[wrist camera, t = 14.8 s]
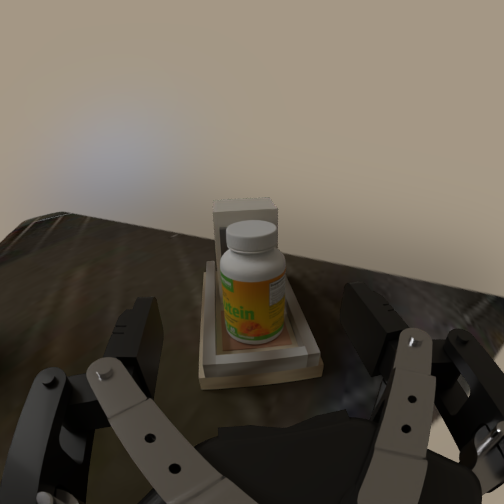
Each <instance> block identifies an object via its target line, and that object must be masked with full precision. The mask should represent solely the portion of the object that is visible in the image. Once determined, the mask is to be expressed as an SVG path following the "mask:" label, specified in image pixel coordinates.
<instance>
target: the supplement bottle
mask: <svg viewBox="0 0 504 504" xmlns="http://www.w3.org/2000/svg"><path fill="white" fill-rule="evenodd" d="M277 241H278V239H277V227H276V225H274V224H273V223H270V222H267V221H261V220H247V221H240V222H236V223H233V224H231V225H229V226H228V227H227V229H226V242H227V247H228V248H229V250H227V251H226V252H225V253H224V254H223V256H222V257H221V260H220V273H221V283H222V294H223V304H224V314H225V324H226V330H227V332H228V334H229V335H230V336H231V337H232V338H233V339H235V340H237V341H239V342H241V343H245V344H263V343H267V342H270V341H272V340H274V339H275V338H276V337H278V336H279V335H280V333H281V332H282V330H283V326H284V312H285V274H286V262H285V257H284V255H283V253H282V252H281V251H280V250H279V249H277V248H275V247H276V245H277Z"/></svg>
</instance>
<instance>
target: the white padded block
mask: <svg viewBox="0 0 504 504" xmlns="http://www.w3.org/2000/svg"><path fill="white" fill-rule="evenodd" d="M247 220H261V221H267V222H270V223H273V224H274V225H276V227H277V239H278V208H277V207H276V206H275V204H274V203H273V202H272V200H271V199H270V198H269V197H265V198H245V199H228V200H214V201H213V221H214V235H215V247H216V260H217V271H218V282H219V293H220V303H221V304H223V294H222V283H221V273H220V260H221V257H222V256H223V254H224V253H225V252H226V251H227V250H229V248H228V247H227V242H226V229H227V227H228V226H229V225H231V224H233V223H236V222H240V221H247ZM277 246H278V241H277V245H276V247H275V248H277V249H278V247H277Z"/></svg>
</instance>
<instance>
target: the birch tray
mask: <svg viewBox="0 0 504 504" xmlns="http://www.w3.org/2000/svg"><path fill="white" fill-rule="evenodd" d="M323 367H324V363H323V361H322V359H321V356H320V350H319V348H318V346H317V344H316V341H315V339H314V337H313V335H312V332H311V330H310V328H309V326H308V323H307V321H306V319H305V317H304V314H303V312H302V310H301V308H300V305H299V303H298V301H297V299H296V297H295V294H294V292H293V290H292V288H291V286H290V283H289V281H288V279H287V277H286V275H285V312H284V326H283V330H282V332H281V333H280V335H279V336H278V337H276V338H275V339H274V340H272V341H270V342H267V343H263V344H245V343H241V342H239V341H237V340H235V339H233V338H232V337H231V336H230V335H229V334H228V332H227V330H226V324H225V314H224V304H221V303H220V293H219V282H218V271H215V261H207V266H206V272H204V280H203V295H202V312H201V331H200V355H199V381H200V386H201V390H207V389H224V388H238V387H249V386H259V385H268V384H276V383H284V382H291V381H297V380H304V379H310V378H316V377H322V372H323Z"/></svg>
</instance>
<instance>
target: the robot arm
mask: <svg viewBox="0 0 504 504" xmlns="http://www.w3.org/2000/svg"><path fill="white" fill-rule="evenodd" d="M340 322H341V325H342V327H343V329H344V330H345V332H346V334H347V336H348V337H349V339H350V341H351V342H352V344H353V346H354V348H355V349H356V351H357V353H358V355H359V356H360V358H361V360H362V362H363V364H364V365H365V367H366V369H367V371H368V372H369V374H370V376H371V377H374V376H378V375H382V377H383V379H382V382H381V384H380V388H379V391H378V395H377V398H376V401H375V404H374V408H373V411H372V414H371V417H370V419H369V420H367V419H362V418H354V417H349V416H348V414H347V411H346V409H345V410H340V411H336V412H332V413H327V414H322V415H317V416H315V417H312V418H310V419H308V420H305V421H303V422H300V423H298V424H295V425H293V426H290V427H287V428H276V427H264V426H253V425H248V426H236V427H221V428H218V436H217V437H214V438H211V439H208V440H206V441H204V442H202V443H200V444H198V445H196V446H195V447H193V446H192V445H191V444H190V443H189V442H188V441H187V440H186V439H185V438H184V437H183V436H182V434H181V433H180V432H179V431H178V430H177V429H176V428H175V426H174V425H173V424H172V423H171V422H170V421H169V420H168V418H167V417H166V416H165V415H164V414H163V412H162V411H161V410H160V409H159V407H158V406H157V405H156V404H155V402H154V394H155V387H156V380H157V374H158V368H159V362H160V356H161V350H162V345H163V326H162V322H161V318H160V313H159V309H158V304H157V300H156V298H155V297H138V298H137V299H136V302H135V304H134V307H133V309H130V310H125V311H124V312H123V313H122V314H121V315H120V316H119V318H118V320H117V323H116V325H115V327H114V330H113V334H112V335H111V338H110V340H109V343H108V345H107V348H106V351H105V353H104V356H103V358H101V359H98V360H96V361H95V362H93V363H92V364H91V365H90V366H89V368H88V369H87V373H84V374H80V375H74V376H69V377H67V376H66V374H65V373H64V371H63V370H62V369H60V368H57V367H50V368H46V369H44V370H42V371H41V372H40V373H39V374H38V375H37V376H36V378H35V380H34V382H33V384H32V387H31V389H30V392H29V394H28V397H27V399H26V402H25V404H24V407H23V410H22V413H21V415H20V418H19V421H18V424H17V427H16V430H15V433H14V436H13V439H12V443H11V446H10V449H9V453H8V457H7V460H6V464H5V468H4V472H3V477H2V481H1V486H0V504H86V493H87V483H88V474H89V466H90V458H91V451H92V445H93V439H94V433H95V429H99V428H104V427H110V426H112V428H113V430H114V431H115V433H116V435H117V436H118V438H119V439H120V441H121V443H122V444H123V446H124V447H125V449H126V450H127V452H128V453H129V455H130V456H131V458H132V459H133V461H134V462H135V463H136V465H137V466H138V468H139V469H140V470H141V472H142V473H143V475H144V476H145V477H146V479H147V480H148V481H149V483H150V484H151V485H152V486H153V489H152V490H151V491H150V492H149V493H148V494H147V495H146V496H145V497H144V498H143V499H142V500H141V501H140V502H139V503H138V504H482V503H481V502H482V495H483V494H485V493H490V492H492V491H494V490H495V489H496V488H498V487H500V486H501V485H502V484H503V483H504V373H503V372H502V371H501V369H500V368H499V367H498V365H497V364H496V363H495V362H494V360H493V359H492V358H491V357H490V355H489V354H488V353H487V352H486V351H485V349H484V348H483V347H482V346H481V345H480V343H479V342H478V341H477V340H476V339H475V338H474V336H473V335H472V334H470V333H469V332H468V331H465V330H463V329H453V330H451V331H450V332H449V334H448V336H447V338H446V340H432V339H431V337H430V336H429V335H428V334H427V333H426V332H425V331H423V330H420V329H417V328H409V327H408V325H407V324H406V323H405V322H404V321H403V319H402V318H401V317H400V316H399V315H398V313H397V312H396V311H394V309H393V308H392V306H391V305H389V303H388V302H387V301H386V299H385V298H384V297H383V296H381V295H380V294H378V293H376V292H375V291H371V290H370V289H369V288H368V286H367V285H366V284H365V283H364V282H353V283H347V284H346V285H345V287H344V292H343V298H342V304H341V309H340ZM460 374H462V375H463V377H464V378H465V380H466V381H467V383H468V384H469V386H470V396H469V398H468V396H467V395H466V393H465V391H464V390H463V388H462V387H461V385H460V384H459V382H458V381H457V379H458V378H459V376H460ZM434 404H435V405H436V407H437V409H438V411H439V413H440V414H441V416H442V418H443V420H444V422H445V424H446V425H447V427H448V429H449V431H450V433H451V435H452V437H453V439H454V441H455V443H456V445H457V446H458V449H459V451H460V454H459V460H460V462H459V463H457V462H455V461H453V460H451V459H448V458H446V457H444V456H442V455H440V454H437V453H435V452H433V451H431V450H429V449H427V446H428V441H429V434H430V429H431V422H432V415H433V407H434Z"/></svg>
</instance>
